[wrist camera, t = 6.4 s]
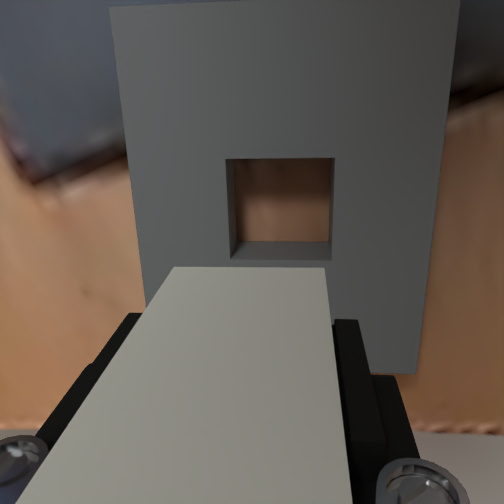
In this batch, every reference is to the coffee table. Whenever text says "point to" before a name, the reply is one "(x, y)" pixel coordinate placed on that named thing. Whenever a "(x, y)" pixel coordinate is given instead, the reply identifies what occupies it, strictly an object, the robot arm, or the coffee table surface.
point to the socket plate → (293, 141)
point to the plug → (212, 400)
